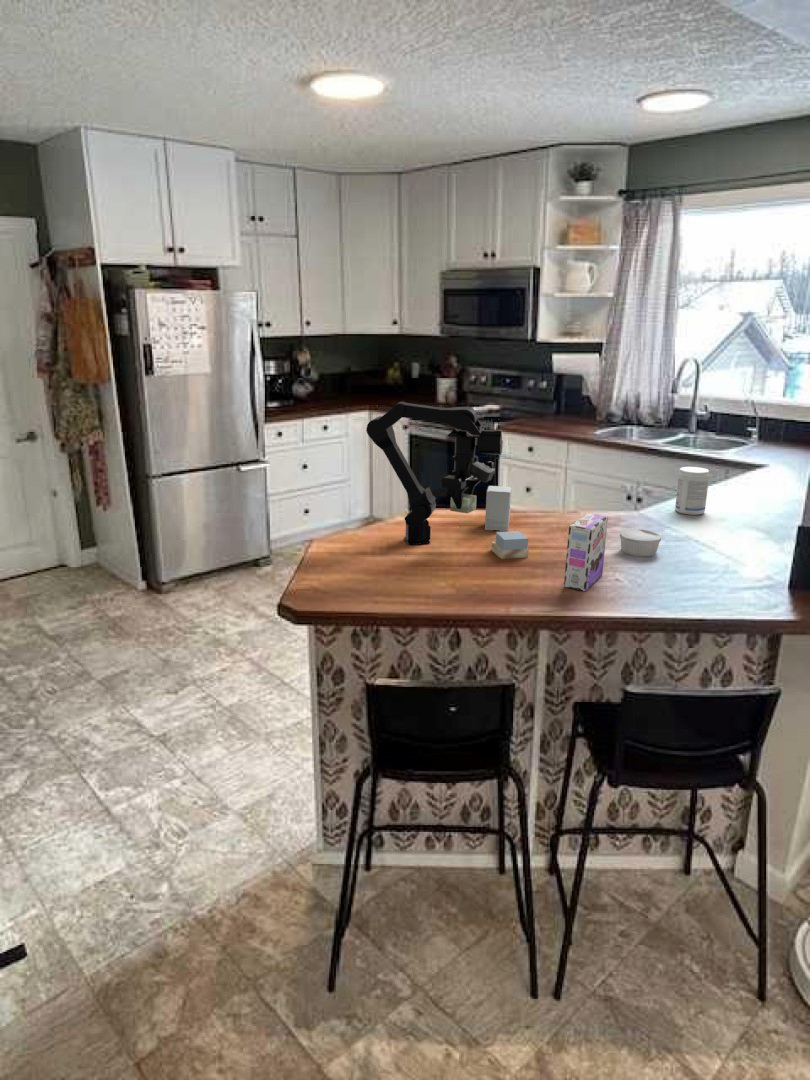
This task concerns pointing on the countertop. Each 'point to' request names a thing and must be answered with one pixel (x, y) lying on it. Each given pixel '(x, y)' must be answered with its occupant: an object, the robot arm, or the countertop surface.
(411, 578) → the countertop surface
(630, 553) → the ramekin
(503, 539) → the slate blue top block
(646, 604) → the countertop surface
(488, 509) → the supplement box
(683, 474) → the supplement tub
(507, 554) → the birch base block
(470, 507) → the green block
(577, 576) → the candy box
